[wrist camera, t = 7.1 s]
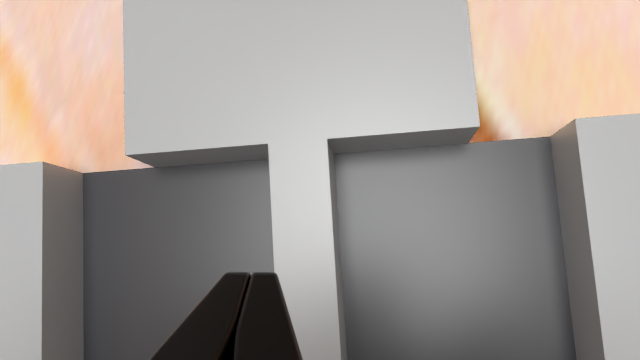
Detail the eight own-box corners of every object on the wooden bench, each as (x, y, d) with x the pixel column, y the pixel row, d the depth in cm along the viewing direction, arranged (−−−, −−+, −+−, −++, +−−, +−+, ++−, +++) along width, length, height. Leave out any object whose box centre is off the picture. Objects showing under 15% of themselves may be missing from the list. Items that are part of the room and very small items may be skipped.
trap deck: (645, 447, 20) (691, 481, 17) (36, 465, 22) (-18, 497, 19) (547, -307, 24) (570, -386, 21) (40, -232, 26) (-3, -294, 23)
